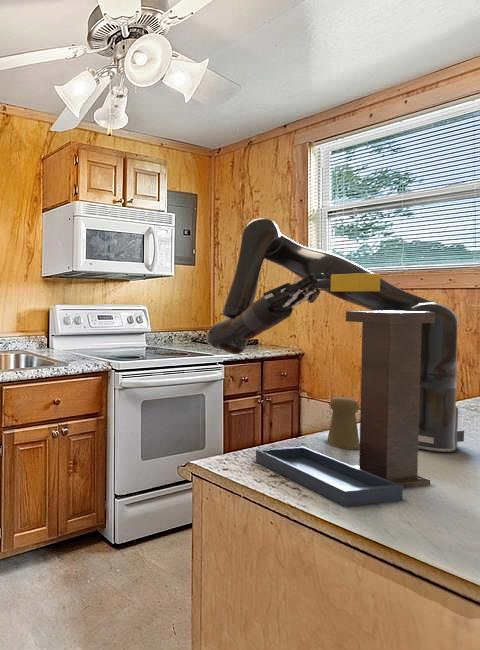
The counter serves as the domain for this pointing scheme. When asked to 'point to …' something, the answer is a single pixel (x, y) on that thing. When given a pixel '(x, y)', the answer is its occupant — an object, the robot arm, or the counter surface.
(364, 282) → the sponge brush
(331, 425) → the cork
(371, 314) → the wooden pedestal stand
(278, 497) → the counter surface
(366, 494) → the tray
